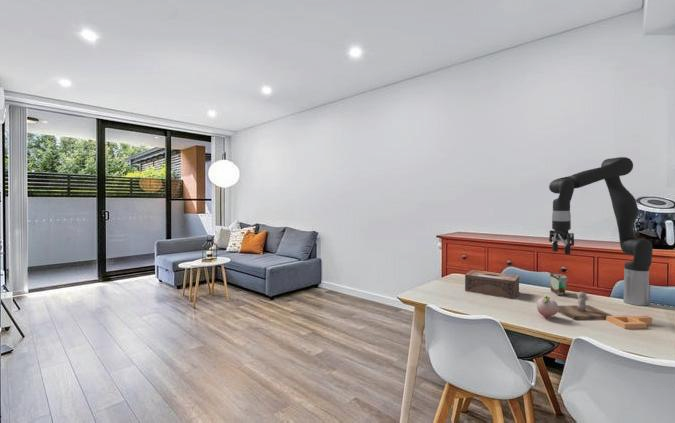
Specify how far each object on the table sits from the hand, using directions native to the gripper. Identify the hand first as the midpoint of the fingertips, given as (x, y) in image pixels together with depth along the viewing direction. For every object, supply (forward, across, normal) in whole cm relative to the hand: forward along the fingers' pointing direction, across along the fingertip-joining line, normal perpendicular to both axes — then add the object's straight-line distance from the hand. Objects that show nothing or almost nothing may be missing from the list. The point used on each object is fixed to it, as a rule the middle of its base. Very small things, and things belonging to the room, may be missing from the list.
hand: (561, 252), depth 161 cm
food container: (+28, +22, -15) cm, 38 cm away
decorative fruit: (+27, -14, +16) cm, 34 cm away
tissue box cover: (+27, +27, +21) cm, 44 cm away
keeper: (+27, -10, -3) cm, 29 cm away
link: (+27, -22, -15) cm, 38 cm away
